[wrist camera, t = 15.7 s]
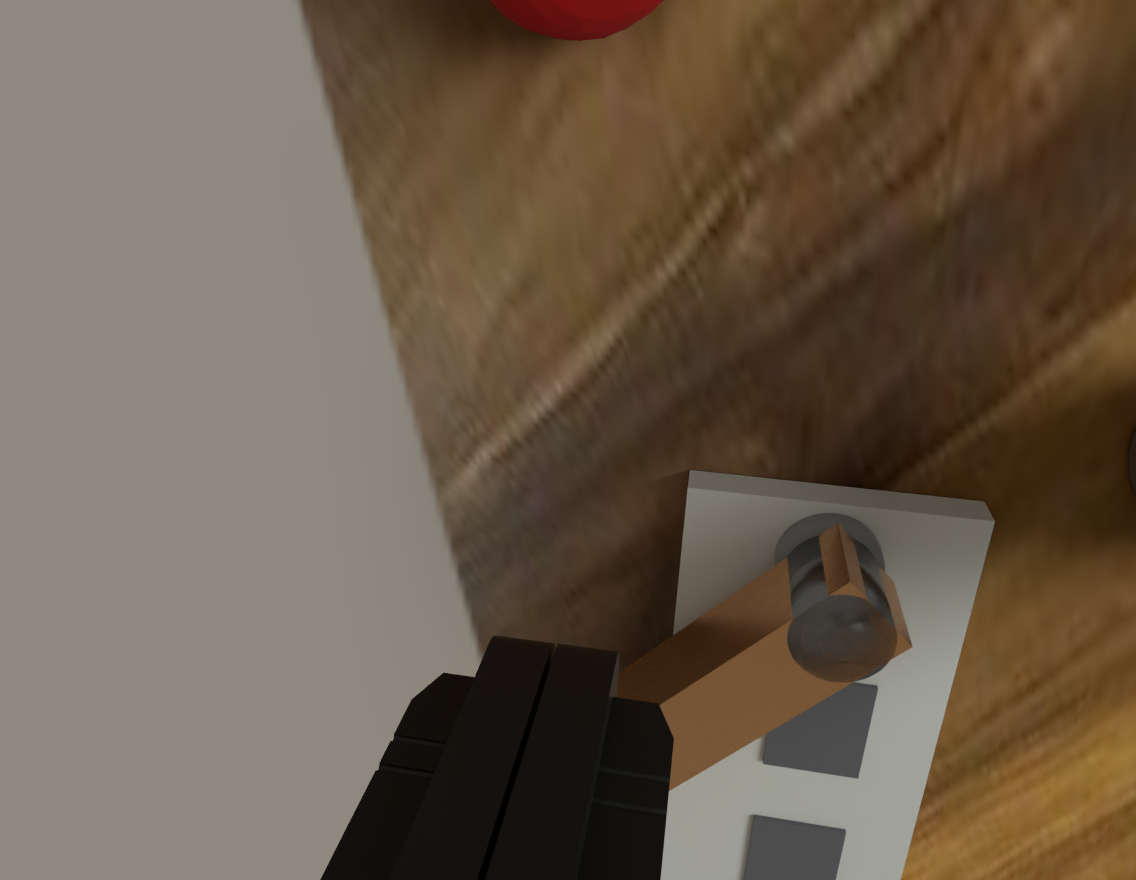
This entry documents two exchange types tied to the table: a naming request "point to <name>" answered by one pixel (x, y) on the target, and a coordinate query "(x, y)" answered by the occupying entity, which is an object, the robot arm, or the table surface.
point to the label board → (843, 720)
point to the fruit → (575, 16)
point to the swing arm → (771, 650)
